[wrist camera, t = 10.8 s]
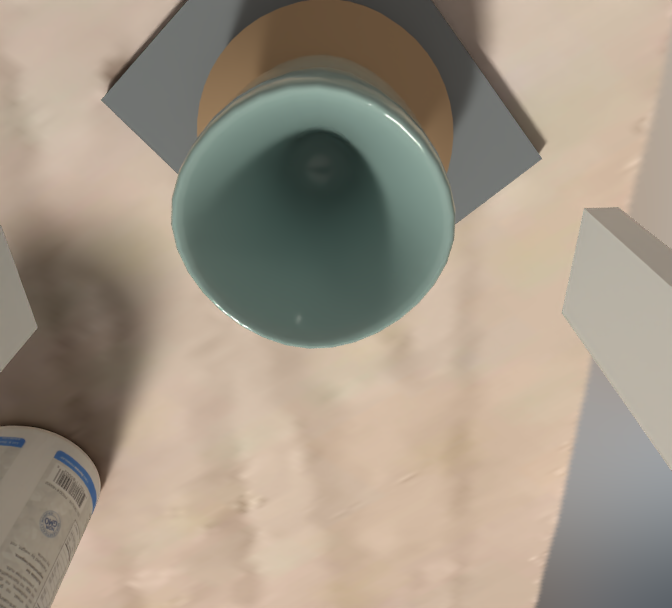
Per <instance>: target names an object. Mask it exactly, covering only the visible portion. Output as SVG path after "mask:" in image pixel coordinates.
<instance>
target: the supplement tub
mask: <svg viewBox="0 0 672 608" xmlns="http://www.w3.org/2000/svg"><path fill="white" fill-rule="evenodd" d="M100 490H101V483H100V477H99V474H98V471H97V469H96V467H95V465H94V463H93V462H92V460H91V459H90V458H89V456H88V455H87V454H86V453H85V452H84V451H83V450H82V449H81V448H79V447H78V446H77V445H75V444H74V443H73V442H71V441H69V440H68V439H66V438H64V437H62V436H60V435H58V434H56V433H53V432H51V431H48V430H44V429H40V428H36V427H29V426H0V608H50V607H51V605H52V603H53V600H54V598H55V596H56V594H57V591H58V589H59V587H60V585H61V583H62V580H63V578H64V576H65V574H66V572H67V570H68V567H69V565H70V563H71V560H72V558H73V556H74V554H75V551H76V549H77V547H78V545H79V542H80V540H81V538H82V536H83V533H84V531H85V529H86V527H87V524H88V522H89V520H90V518H91V515H92V513H93V511H94V508H95V506H96V504H97V501H98V499H99V496H100Z"/></svg>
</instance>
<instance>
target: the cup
mask: <svg viewBox="0 0 672 608" xmlns="http://www.w3.org/2000/svg"><path fill="white" fill-rule="evenodd" d="M171 225H172V230H173V234H174V238H175V243H176V247H177V250H178V252H179V254H180V256H181V258H182V260H183V263H184V265H185V267H186V269H187V271H188V273H189V274H190V275H191V277H192V278H193V279H194V281H195V282H196V284H197V285H198V286H199V288H200V289H201V291H202V292H203V293H204V294H205V295H206V296H207V297H208V298H209V299H210V300H211V301H212V302H213V303H214V304H215V305H216V306H217V307H218V308H219V309H220V310H221V311H222V312H224V313H225V314H226V315H228V316H229V317H230V318H232V319H233V320H234V321H236V322H237V323H238V324H240V325H241V326H243V327H245V328H247V329H249V330H250V331H252V332H254V333H256V334H258V335H260V336H262V337H264V338H267V339H270V340H273V341H275V342H278V343H281V344H284V345H289V346H295V347H302V348H309V349H310V348H330V347H336V346H340V345H344V344H349V343H353V342H357V341H359V340H361V339H364V338H366V337H368V336H371V335H373V334H376V333H378V332H380V331H381V330H383V329H385V328H386V327H388V326H389V325H391V324H393V323H394V322H396V321H398V320H399V319H401V318H402V317H403V316H404V315H405V314H406V313H408V312H409V311H410V310H411V309H412V308H413V307H415V306H416V305H417V304H418V303H419V302H420V301H421V300H422V299H423V297H424V296H425V295H426V294H427V293H428V291H429V290H430V289H431V288H432V287H433V286H434V284H435V283H436V281H437V279H438V277H439V276H440V274H441V272H442V270H443V269H444V267H445V265H446V263H447V261H448V257H449V254H450V251H451V248H452V244H453V241H454V233H455V205H454V200H453V195H452V190H451V185H450V181H449V178H448V176H447V174H446V171H445V169H444V166H443V164H442V162H441V159H440V157H439V155H438V152H437V150H436V148H435V146H434V144H433V143H432V141H431V139H430V137H429V136H428V134H427V132H426V131H425V129H424V128H423V126H422V125H421V123H420V122H419V120H418V119H417V117H416V116H415V114H414V113H413V111H412V110H411V108H410V107H409V105H408V104H407V102H406V101H405V100H404V99H403V98H402V97H401V96H400V95H399V94H398V93H397V92H396V91H395V90H394V89H393V88H392V87H391V86H390V84H389V83H388V82H387V81H385V80H384V79H383V78H381V77H380V76H378V75H377V74H376V73H374V72H373V71H371V70H370V69H369V68H367V67H365V66H363V65H361V64H359V63H356V62H354V61H352V60H350V59H348V58H344V57H339V56H334V55H329V54H317V55H304V56H300V57H297V58H294V59H291V60H288V61H285V62H281V63H279V64H278V65H276V66H274V67H272V68H271V69H269V70H267V71H265V72H264V73H262V74H260V75H259V76H257V77H256V78H254V79H253V80H252V81H251V82H250V83H248V84H247V85H246V86H245V87H244V88H243V89H241V90H240V91H239V92H238V93H237V94H236V95H234V96H233V97H232V98H231V99H230V100H229V101H228V102H227V103H226V104H225V105H224V106H223V107H222V108H221V109H220V110H219V111H218V112H217V114H216V115H215V116H214V117H213V118H212V120H211V121H210V122H209V123H208V125H207V126H206V127H205V128H204V130H203V131H202V132H201V133H200V135H199V136H198V137H197V138H196V140H195V141H194V143H193V145H192V147H191V149H190V151H189V152H188V154H187V156H186V158H185V160H184V162H183V164H182V166H181V168H180V170H179V173H178V177H177V181H176V184H175V188H174V192H173V195H172V216H171Z"/></svg>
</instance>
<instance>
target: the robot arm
mask: <svg viewBox="0 0 672 608" xmlns="http://www.w3.org/2000/svg"><path fill="white" fill-rule="evenodd" d="M562 314H563V316H564V317H565V318H566V320H567V321H568V323H569V324H570V326H571V327H572V328H573V330H574V331H575V333H576V334H577V336H578V337H579V339H580V340H581V341H582V343H583V344H584V346H585V347H586V349H587V350H588V351H589V353H590V354H591V356H592V357H593V359H594V360H595V362H596V363H597V364H598V366H599V367H600V369H601V370H602V372H603V373H604V374H605V376H606V377H607V379H608V380H609V382H610V383H611V385H612V386H613V387H614V389H615V390H616V392H617V393H618V395H619V396H620V397H621V399H622V400H623V402H624V403H625V405H626V406H627V407H628V409H629V410H630V412H631V413H632V415H633V416H634V417H635V419H636V420H637V422H638V423H639V425H640V426H641V428H642V429H643V431H645V433H646V435H647V436H648V438H649V439H650V441H651V442H652V443H653V445H654V446H655V448H656V449H657V451H658V452H659V454H660V455H661V456H662V458H663V459H664V461H665V462H666V463H667V465H668V466H669V468H670V469H671V471H672V249H670V248H669V247H668V246H667V245H665V244H664V243H663V242H661V241H660V240H659V239H658V238H656V237H655V236H654V235H653V234H651V233H650V232H649V231H648V230H646V229H645V228H644V227H642V226H641V225H640V224H639V223H637V222H636V221H635V220H634V219H632V218H631V217H630V216H629V215H627V214H626V213H625V212H624V211H622V210H621V209H620V208H619V207H613V208H584V211H583V216H582V221H581V225H580V230H579V235H578V239H577V244H576V249H575V253H574V258H573V263H572V267H571V272H570V277H569V282H568V286H567V291H566V296H565V300H564V305H563V310H562ZM37 328H38V327H37V324H36V321H35V318H34V316H33V313H32V310H31V307H30V304H29V302H28V299H27V296H26V293H25V291H24V288H23V285H22V282H21V279H20V277H19V274H18V271H17V268H16V265H15V263H14V260H13V257H12V254H11V252H10V249H9V246H8V243H7V240H6V238H5V235H4V232H3V229H2V226H1V225H0V372H1V371H2V370H3V369H4V368H5V366H6V365H7V364H8V363H9V362H10V361H11V359H12V358H13V357H14V356H15V355H16V353H17V352H18V351H19V350H20V349H21V347H22V346H23V345H24V344H25V343H26V341H27V340H28V339H29V338H30V337H31V335H32V334H33V333H34V332H35V331H36V329H37Z"/></svg>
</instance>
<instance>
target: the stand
mask: <svg viewBox="0 0 672 608" xmlns="http://www.w3.org/2000/svg"><path fill="white" fill-rule="evenodd" d="M317 54H329V55H334V56H339V57H344V58H348V59H350V60H352V61H354V62H356V63H359V64H361V65H363V66H365V67H367V68H369V69H370V70H371V71H373V72H374V73H376V74H377V75H378V76H380V77H381V78H383V79H384V80H385V81H387V82H388V83H389V84H390V86H391V87H392V88H393V89H394V90H395V91H396V92H397V93H398V94H399V95H400V96H401V97H402V98H403V99H404V100H405V101H406V102H407V104H408V105H409V107H410V108H411V110H412V111H413V113H414V114H415V116H416V117H417V119H418V120H419V122H420V123H421V125H422V126H423V128H424V129H425V131H426V132H427V134H428V136H429V137H430V139H431V141H432V143H433V144H434V146H435V148H436V150H437V152H438V155H439V157H440V159H441V162H442V164H443V166H444V169H445V171H446V174H447V176H448V178H449V181H450V185H451V190H452V195H453V200H454V205H455V224H456V223H458V222H459V221H460V220H462V219H463V218H464V217H466V216H467V215H468V214H470V213H471V212H472V211H474V210H475V209H476V208H478V207H479V206H480V205H481V204H483V203H484V202H485V201H487V200H488V199H489V198H491V197H492V196H493V195H495V194H496V193H497V192H499V191H500V190H501V189H503V188H504V187H505V186H507V185H508V184H509V183H511V182H512V181H513V180H515V179H516V178H517V177H519V176H520V175H521V174H523V173H524V172H525V171H527V170H528V169H529V168H530V167H532V166H533V165H534V164H536V163H537V162H538V161H540V160H541V159H542V158H541V156H540V155H539V153H538V152H537V151H536V149H535V148H534V146H533V145H532V143H531V142H530V141H529V139H528V138H527V136H526V135H525V133H524V132H523V131H522V129H521V128H520V126H519V125H518V123H517V122H516V121H515V119H514V118H513V116H512V115H511V113H510V112H509V111H508V109H507V108H506V106H505V105H504V103H503V102H502V101H501V99H500V98H499V96H498V95H497V93H496V92H495V91H494V89H493V88H492V86H491V85H490V83H489V82H488V81H487V79H486V78H485V76H484V75H483V73H482V72H481V71H480V69H479V68H478V66H477V65H476V63H475V62H474V61H473V59H472V58H471V56H470V55H469V53H468V52H467V51H466V49H465V48H464V46H463V45H462V43H461V42H460V41H459V39H458V38H457V36H456V35H455V33H454V32H453V31H452V29H451V28H450V26H449V25H448V23H447V22H446V21H445V19H444V18H443V16H442V15H441V13H440V12H439V11H438V9H437V8H436V6H435V5H434V4H433V2H432V1H431V0H188V1H187V2H186V3H185V4H184V5H183V6H182V8H181V9H180V10H179V11H178V12H177V13H176V15H175V16H174V17H173V18H172V19H171V20H170V21H169V23H168V24H167V25H166V26H165V27H164V28H163V29H162V31H161V32H160V33H159V34H158V35H157V36H156V37H155V39H154V40H153V41H152V42H151V43H150V44H149V46H148V47H147V48H146V49H145V50H144V51H143V52H142V54H141V55H140V56H139V57H138V58H137V59H136V60H135V62H134V63H133V64H132V65H131V66H130V67H129V69H128V70H127V71H126V72H125V73H124V74H123V75H122V77H121V78H120V79H119V80H118V81H117V82H116V83H115V85H114V86H113V87H112V88H111V89H110V90H109V91H108V93H107V94H106V95H105V96H104V97H103V98H102V100H101V101H102V102H104V103H105V104H106V105H107V106H108V107H109V108H110V109H111V110H112V111H113V112H114V113H115V114H116V115H117V116H118V117H119V118H120V119H121V120H122V121H123V122H124V123H125V124H126V125H127V126H128V127H130V128H131V129H132V130H133V131H134V132H135V133H136V134H137V135H138V136H139V137H140V138H141V139H142V140H143V141H144V142H145V143H146V144H147V145H148V146H149V147H150V148H151V149H152V150H153V151H155V152H156V153H157V154H158V155H159V156H160V157H161V158H162V159H163V160H164V161H165V162H166V163H167V164H168V165H169V166H170V167H171V168H172V169H173V170H174V171H175V172H176V173H177V174H178V173H179V170H180V168H181V166H182V164H183V162H184V160H185V158H186V156H187V154H188V152H189V151H190V149H191V147H192V145H193V143H194V141H195V140H196V138H197V137H198V136H199V135H200V133H201V132H202V131H203V130H204V128H205V127H206V126H207V125H208V123H209V122H210V121H211V120H212V118H213V117H214V116H215V115H216V114H217V112H218V111H219V110H220V109H221V108H222V107H223V106H224V105H225V104H226V103H227V102H228V101H229V100H230V99H231V98H232V97H233V96H234V95H236V94H237V93H238V92H239V91H240V90H241V89H243V88H244V87H245V86H246V85H247V84H248V83H250V82H251V81H252V80H253V79H254V78H256V77H257V76H259V75H260V74H262V73H264V72H265V71H267V70H269V69H271V68H272V67H274V66H276V65H278V64H279V63H281V62H285V61H288V60H291V59H294V58H297V57H300V56H304V55H317Z"/></svg>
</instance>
